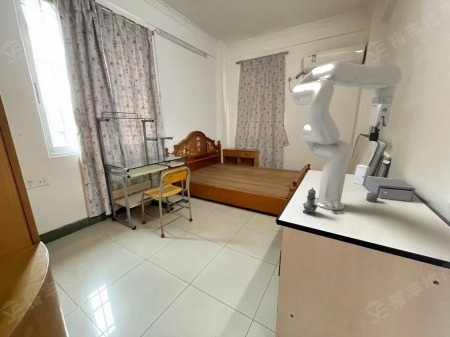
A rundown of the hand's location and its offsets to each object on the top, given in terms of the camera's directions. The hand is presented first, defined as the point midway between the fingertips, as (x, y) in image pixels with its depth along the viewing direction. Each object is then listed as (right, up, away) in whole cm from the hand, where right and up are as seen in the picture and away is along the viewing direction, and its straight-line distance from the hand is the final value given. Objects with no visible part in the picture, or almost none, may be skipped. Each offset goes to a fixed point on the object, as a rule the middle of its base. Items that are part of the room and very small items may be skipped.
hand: (372, 141), depth 92 cm
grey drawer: (+17, -28, +12) cm, 35 cm away
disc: (+17, -27, +9) cm, 33 cm away
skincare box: (+15, -24, +29) cm, 40 cm away
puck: (+2, -30, +3) cm, 31 cm away
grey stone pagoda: (-36, -34, -9) cm, 50 cm away
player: (+18, -28, +13) cm, 35 cm away
